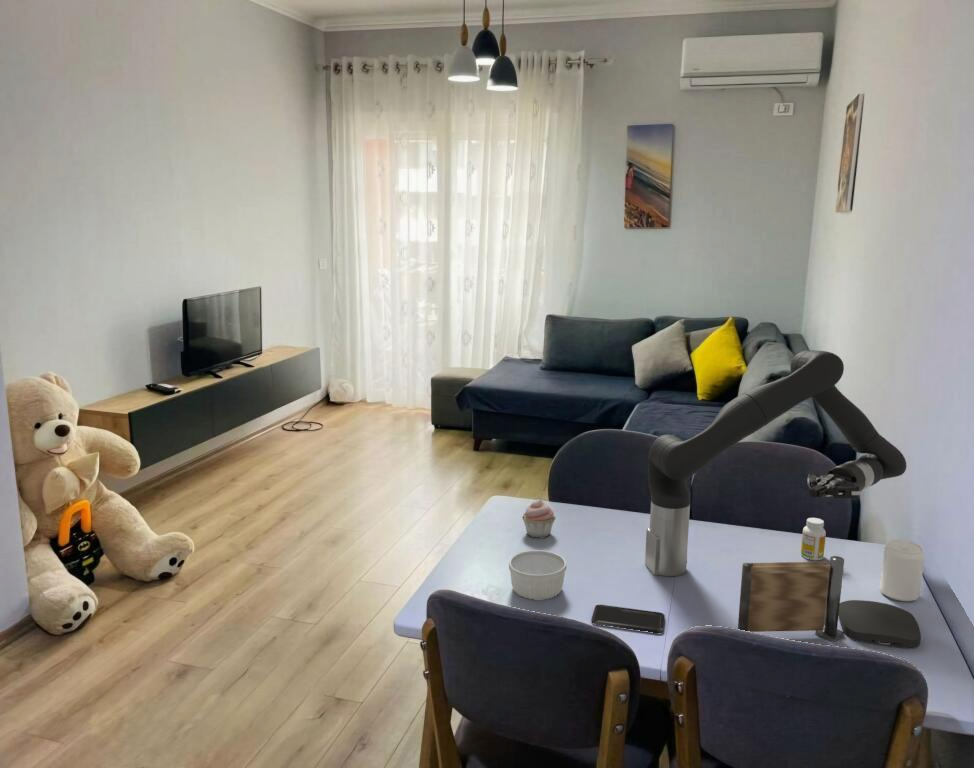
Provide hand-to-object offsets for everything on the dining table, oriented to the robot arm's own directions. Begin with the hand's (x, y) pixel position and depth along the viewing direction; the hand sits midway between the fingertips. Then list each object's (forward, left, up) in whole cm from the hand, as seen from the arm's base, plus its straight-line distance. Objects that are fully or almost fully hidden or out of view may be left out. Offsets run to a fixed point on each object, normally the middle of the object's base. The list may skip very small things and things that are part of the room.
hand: (813, 493), depth 176 cm
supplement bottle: (+12, +16, -24) cm, 31 cm away
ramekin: (-61, +11, -24) cm, 66 cm away
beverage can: (+20, -6, -24) cm, 32 cm away
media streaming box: (+6, -18, -24) cm, 31 cm away
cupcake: (-53, +42, -24) cm, 72 cm away
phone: (-45, -6, -24) cm, 51 cm away
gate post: (-9, -11, -23) cm, 28 cm away
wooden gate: (-17, -18, -22) cm, 33 cm away
